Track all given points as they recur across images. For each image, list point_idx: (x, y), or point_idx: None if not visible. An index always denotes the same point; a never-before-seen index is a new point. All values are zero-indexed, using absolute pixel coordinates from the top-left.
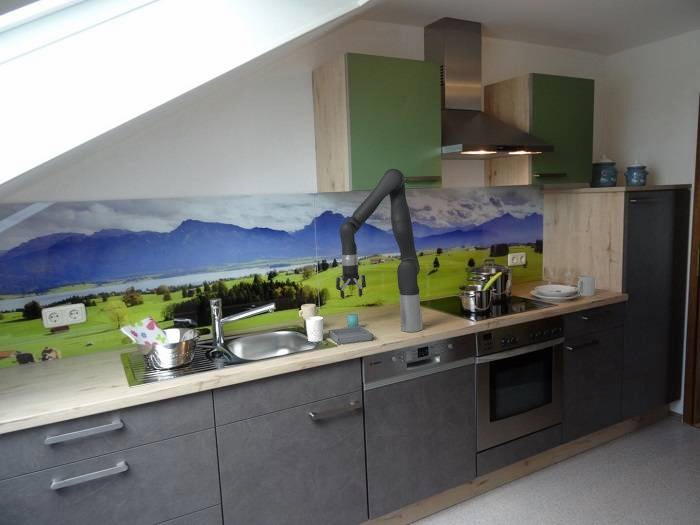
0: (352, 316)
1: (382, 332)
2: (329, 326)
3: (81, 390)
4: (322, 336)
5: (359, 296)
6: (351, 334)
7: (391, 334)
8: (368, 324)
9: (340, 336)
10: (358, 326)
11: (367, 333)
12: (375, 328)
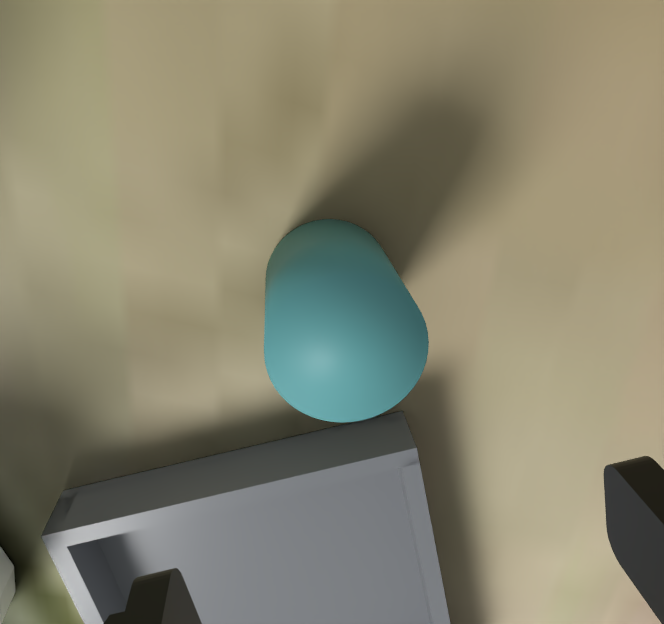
0: (338, 417)
1: (588, 453)
2: (8, 22)
3: None
4: (3, 618)
5: (608, 514)
6: (290, 515)
7: None
8: (545, 70)
9: (182, 558)
10: (381, 460)
11: (431, 622)
12: (570, 292)
